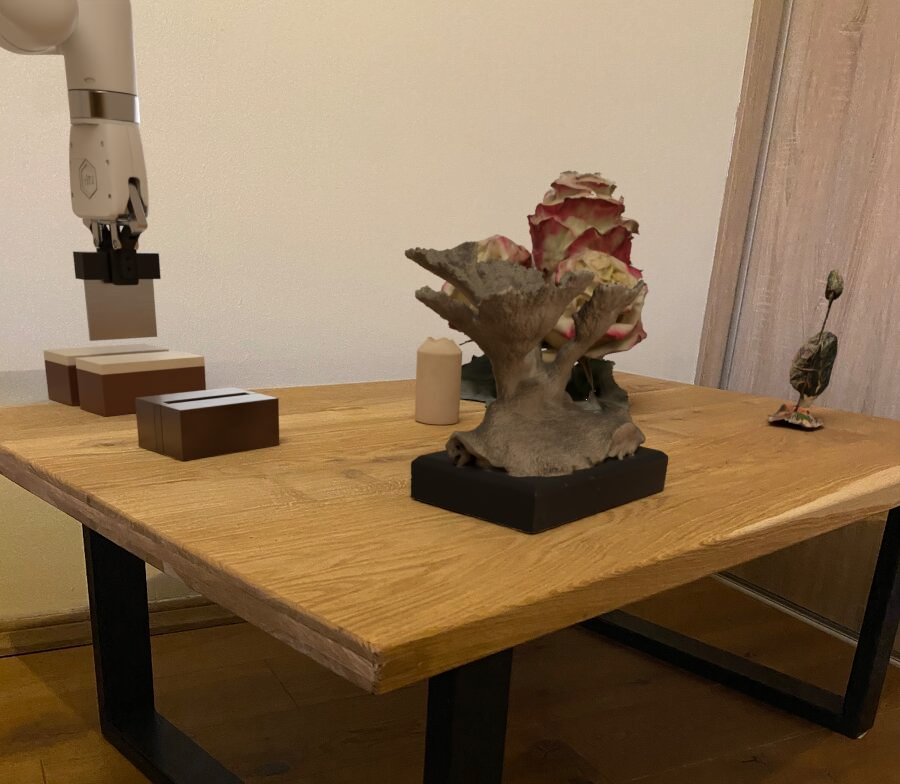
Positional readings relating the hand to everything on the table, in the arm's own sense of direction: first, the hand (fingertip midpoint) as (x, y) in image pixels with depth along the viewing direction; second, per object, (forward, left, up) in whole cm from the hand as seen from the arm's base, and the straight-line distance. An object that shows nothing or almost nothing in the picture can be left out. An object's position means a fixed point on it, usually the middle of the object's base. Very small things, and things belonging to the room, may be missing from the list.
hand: (119, 282), depth 112 cm
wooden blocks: (0, 0, -14) cm, 14 cm away
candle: (+24, -31, -14) cm, 42 cm away
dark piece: (0, 0, -7) cm, 7 cm away
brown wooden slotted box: (-6, -26, -14) cm, 30 cm away
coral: (+5, -57, -14) cm, 59 cm away
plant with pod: (+64, -61, -14) cm, 90 cm away
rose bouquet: (+47, -32, -14) cm, 59 cm away
